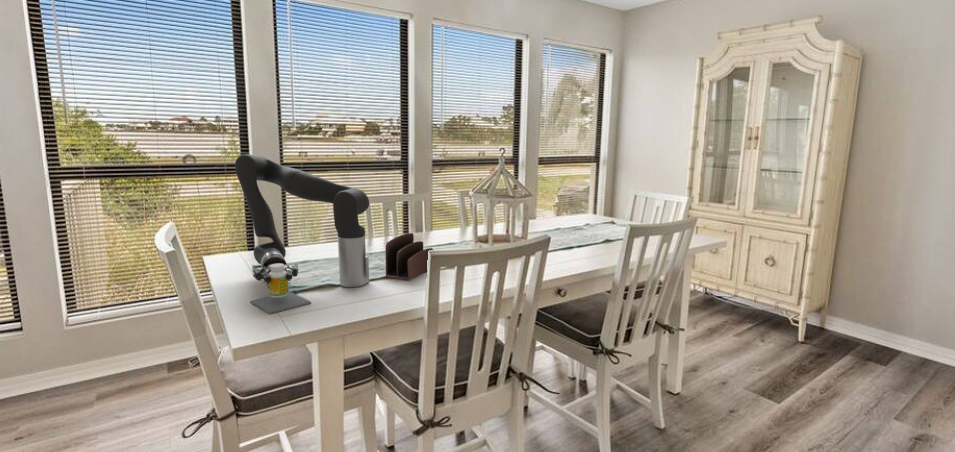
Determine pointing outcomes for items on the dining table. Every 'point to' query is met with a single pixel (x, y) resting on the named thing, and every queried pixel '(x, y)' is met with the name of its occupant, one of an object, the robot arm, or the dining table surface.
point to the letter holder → (405, 257)
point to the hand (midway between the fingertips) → (278, 278)
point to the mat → (280, 303)
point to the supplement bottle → (278, 281)
